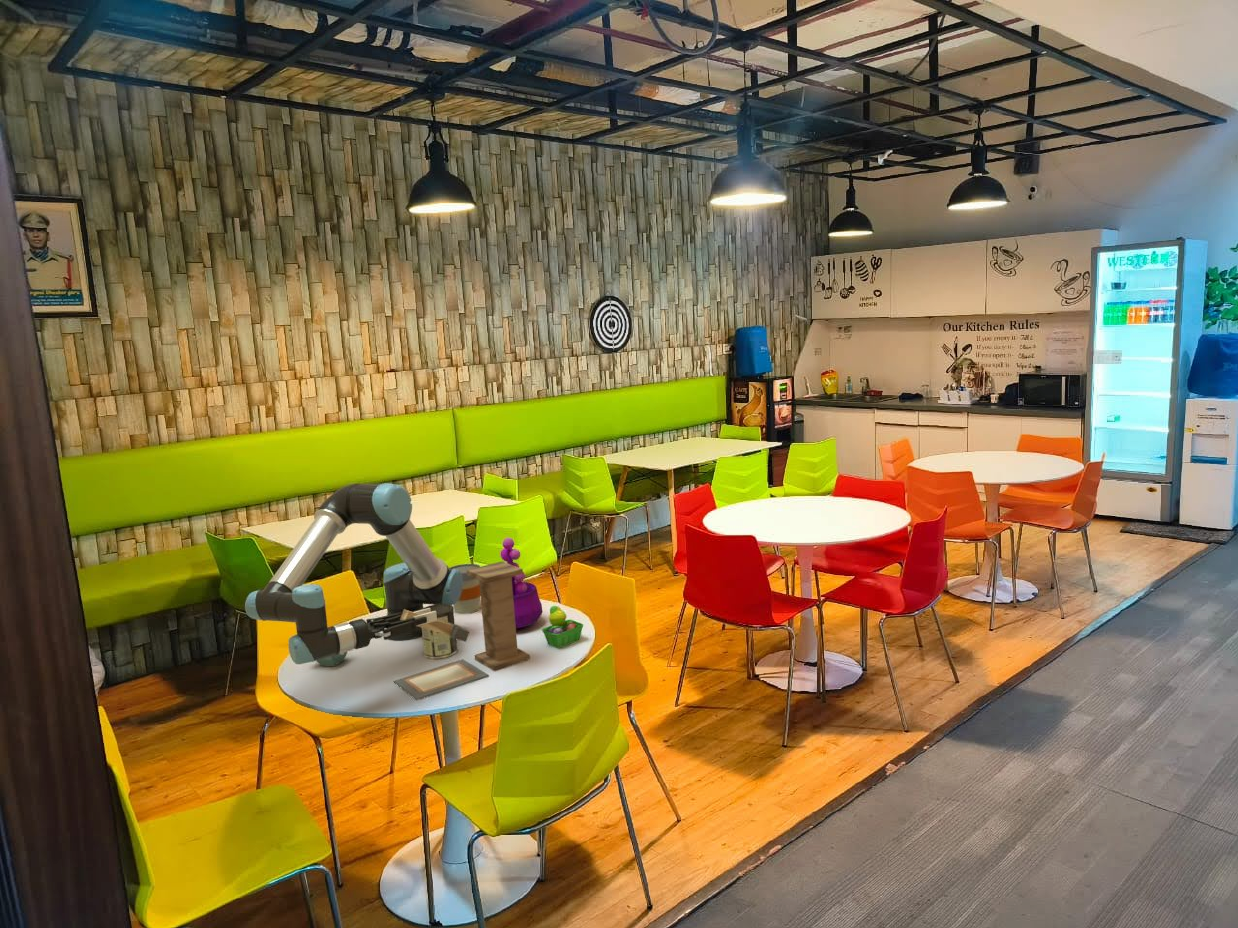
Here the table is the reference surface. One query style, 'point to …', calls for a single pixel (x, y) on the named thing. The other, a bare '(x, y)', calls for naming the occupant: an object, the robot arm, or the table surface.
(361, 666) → the table surface
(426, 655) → the coffee can
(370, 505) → the robot arm
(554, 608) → the fruit basket
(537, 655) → the table surface
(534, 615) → the decorative plant
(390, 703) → the table surface
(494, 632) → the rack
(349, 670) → the table surface
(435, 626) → the wooden handled hammer
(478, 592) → the reusable coffee cup
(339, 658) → the flower pot
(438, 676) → the pad
